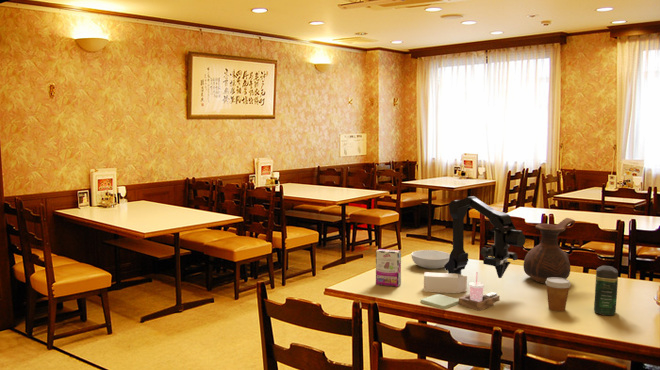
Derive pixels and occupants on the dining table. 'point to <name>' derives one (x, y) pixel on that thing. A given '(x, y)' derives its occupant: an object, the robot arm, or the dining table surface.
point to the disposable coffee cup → (557, 293)
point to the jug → (548, 254)
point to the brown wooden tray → (477, 305)
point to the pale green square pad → (440, 301)
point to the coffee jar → (606, 290)
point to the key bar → (490, 295)
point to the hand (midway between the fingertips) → (499, 277)
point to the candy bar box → (388, 267)
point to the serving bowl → (430, 258)
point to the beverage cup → (476, 290)
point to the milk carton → (445, 282)
